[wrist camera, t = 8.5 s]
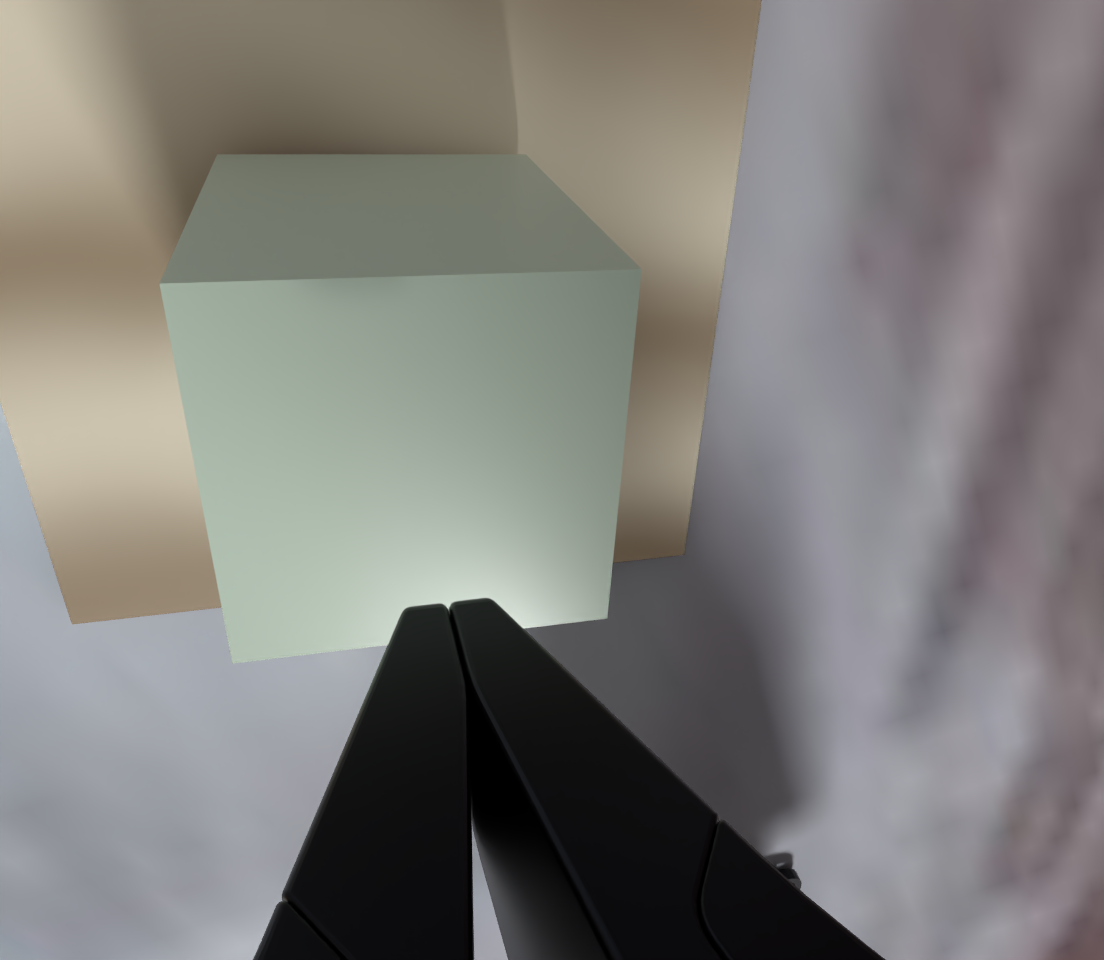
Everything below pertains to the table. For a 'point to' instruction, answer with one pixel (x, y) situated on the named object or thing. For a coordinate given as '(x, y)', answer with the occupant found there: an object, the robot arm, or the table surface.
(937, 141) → the table surface
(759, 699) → the table surface
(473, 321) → the mint green box
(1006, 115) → the table surface
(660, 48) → the post board
